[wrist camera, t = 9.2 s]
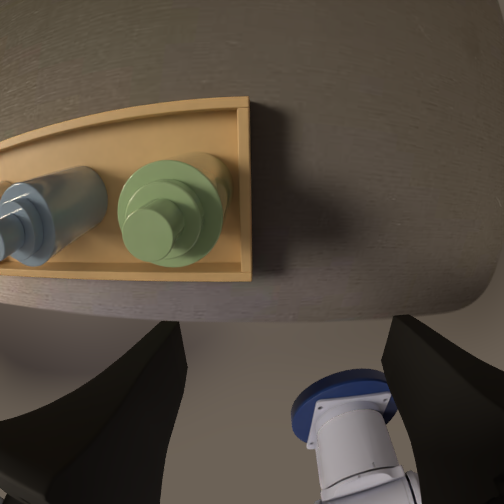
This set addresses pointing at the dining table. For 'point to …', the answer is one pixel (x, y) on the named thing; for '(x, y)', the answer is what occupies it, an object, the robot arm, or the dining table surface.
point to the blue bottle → (50, 213)
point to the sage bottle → (175, 208)
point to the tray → (119, 171)
